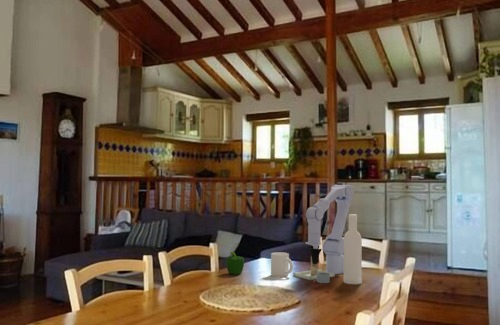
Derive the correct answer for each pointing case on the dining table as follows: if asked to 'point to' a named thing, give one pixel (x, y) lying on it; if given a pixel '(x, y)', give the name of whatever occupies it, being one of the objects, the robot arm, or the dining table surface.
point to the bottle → (352, 253)
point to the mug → (280, 264)
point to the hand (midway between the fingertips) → (314, 262)
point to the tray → (308, 274)
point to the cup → (323, 277)
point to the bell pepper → (235, 264)
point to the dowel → (313, 269)
